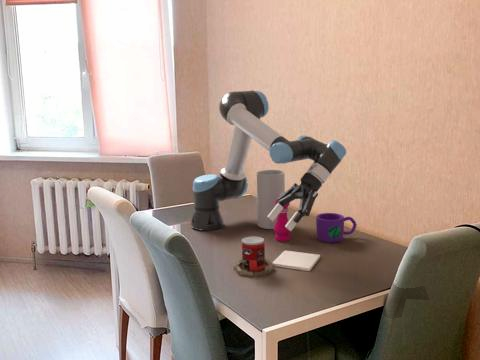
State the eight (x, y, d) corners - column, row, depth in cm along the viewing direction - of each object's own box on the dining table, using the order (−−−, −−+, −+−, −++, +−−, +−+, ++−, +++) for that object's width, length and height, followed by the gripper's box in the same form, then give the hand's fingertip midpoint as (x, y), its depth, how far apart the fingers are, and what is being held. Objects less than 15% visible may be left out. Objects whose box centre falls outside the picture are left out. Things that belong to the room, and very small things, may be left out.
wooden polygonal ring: (228, 273, 164) (228, 269, 163) (244, 260, 175) (244, 256, 175) (264, 278, 158) (264, 274, 158) (277, 264, 170) (277, 260, 170)
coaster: (271, 265, 169) (271, 263, 169) (284, 252, 182) (284, 250, 181) (309, 271, 163) (309, 268, 163) (320, 257, 176) (320, 254, 176)
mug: (321, 245, 189) (322, 221, 187) (312, 236, 200) (312, 213, 198) (362, 241, 192) (362, 217, 190) (350, 232, 203) (350, 210, 201)
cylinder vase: (254, 228, 213) (252, 174, 208) (263, 220, 224) (262, 169, 219) (280, 231, 208) (279, 175, 203) (288, 223, 220) (287, 170, 214)
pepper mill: (290, 242, 193) (290, 195, 189) (272, 241, 195) (272, 194, 191) (292, 236, 200) (291, 191, 196) (275, 236, 202) (274, 190, 198)
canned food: (241, 265, 170) (240, 236, 168) (263, 264, 171) (262, 235, 169) (243, 274, 163) (242, 244, 161) (266, 272, 163) (265, 242, 161)
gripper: (291, 166, 180) (256, 209, 177) (327, 177, 158) (289, 226, 155) (303, 178, 183) (269, 221, 180) (340, 190, 161) (303, 239, 158)
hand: (278, 223), depth 168 cm, fingers open, 13 cm apart
